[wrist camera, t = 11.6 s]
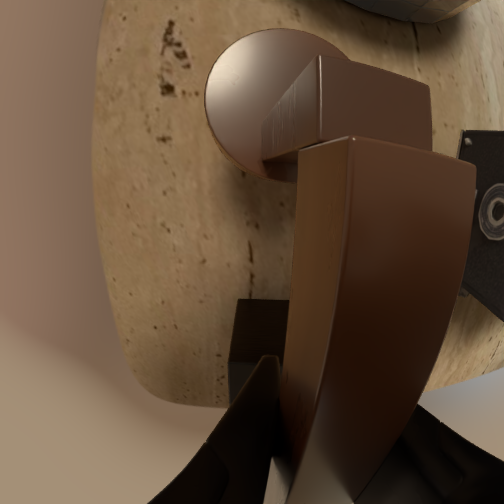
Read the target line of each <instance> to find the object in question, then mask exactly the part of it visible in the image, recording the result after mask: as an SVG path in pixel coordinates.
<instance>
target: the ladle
mask: <svg viewBox="0 0 504 504" xmlns="http://www.w3.org/2000/svg"><path fill="white" fill-rule="evenodd" d="M204 106H205V112H206V117H207V121H208V124H209V127H210V130H211V133H212V136H213V138H214V140H215V142H216V144H217V146H218V147H219V149H220V150H221V152H222V153H223V154H224V155H225V156H226V158H227V159H228V160H229V161H231V162H232V163H233V164H234V165H235V166H237V167H238V168H239V169H241V170H242V171H244V172H246V173H248V174H250V175H252V176H255V177H258V178H261V179H265V180H269V181H277V182H285V183H297V201H296V219H295V236H294V251H293V265H292V278H291V290H290V301H289V312H288V323H287V333H286V343H285V352H284V361H283V370H282V378H281V386H280V394H279V400H280V408H279V415H278V422H277V428H276V435H275V441H274V447H273V454H272V460H271V465H270V471H269V477H268V482H267V488H266V493H265V498H264V503H263V504H352V503H353V502H354V501H355V499H356V498H357V497H358V496H359V494H360V493H361V492H362V491H363V489H364V488H365V487H366V485H367V484H368V483H369V481H370V480H371V479H372V477H373V476H374V474H375V473H376V472H377V470H378V469H379V467H380V466H381V464H382V463H383V461H384V460H385V458H386V457H387V455H388V454H389V452H390V450H391V449H392V447H393V446H394V444H395V442H396V441H397V439H398V438H399V436H400V434H401V433H402V431H403V429H404V428H405V426H406V424H407V422H408V420H409V418H410V417H411V415H412V413H413V411H414V409H415V407H416V405H417V403H418V401H419V399H420V397H421V395H422V393H423V391H424V389H425V386H426V384H427V382H428V380H429V377H430V375H431V373H432V371H433V368H434V366H435V363H436V361H437V358H438V356H439V353H440V350H441V348H442V345H443V342H444V340H445V337H446V334H447V331H448V328H449V325H450V322H451V319H452V315H453V312H454V309H455V305H456V302H457V298H458V294H459V290H460V286H461V282H462V278H463V274H464V269H465V264H466V259H467V254H468V249H469V243H470V236H471V230H472V222H473V214H474V204H475V192H476V174H477V169H476V166H475V165H474V164H472V163H469V162H465V161H462V160H459V159H456V158H453V157H449V156H446V155H443V154H439V153H436V152H432V113H431V98H430V88H429V86H428V85H426V84H424V83H421V82H418V81H416V80H413V79H410V78H407V77H405V76H402V75H399V74H396V73H393V72H390V71H386V70H383V69H380V68H376V67H373V66H369V65H366V64H362V63H358V62H354V61H350V60H349V59H348V57H347V56H345V55H344V54H343V53H342V52H341V51H340V50H339V49H338V48H336V47H335V46H334V45H332V44H331V43H329V42H327V41H326V40H324V39H322V38H320V37H318V36H315V35H313V34H310V33H307V32H304V31H299V30H294V29H284V28H280V29H267V30H262V31H258V32H255V33H251V34H249V35H247V36H245V37H242V38H241V39H239V40H237V41H236V42H234V43H233V44H231V45H230V46H229V47H228V48H227V49H225V50H224V51H223V53H222V54H221V55H220V56H219V57H218V58H217V60H216V61H215V63H214V64H213V66H212V68H211V70H210V72H209V75H208V78H207V81H206V85H205V93H204Z"/></svg>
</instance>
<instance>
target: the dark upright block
mask: <svg viewBox="0 0 504 504" xmlns="http://www.w3.org/2000/svg"><path fill="white" fill-rule="evenodd" d="M289 301H290V300H262V299H238V301H237V307H236V313H235V320H234V326H233V332H232V338H231V345H230V351H229V357H228V387H229V407H230V405H231V404H232V402H233V401H234V399H235V398H236V396H237V395H238V393H239V392H240V390H241V389H242V387H243V386H244V384H245V383H246V381H247V380H248V378H249V376H250V375H251V373H252V372H253V370H254V369H255V367H256V366H257V364H258V362H259V361H260V359H261V358H262V356H264V355H276V356H278V357H279V364H280V373H281V378H282V370H283V361H284V352H285V343H286V333H287V323H288V312H289Z"/></svg>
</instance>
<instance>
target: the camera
mask: <svg viewBox="0 0 504 504" xmlns="http://www.w3.org/2000/svg"><path fill="white" fill-rule="evenodd" d="M456 159H459V160H462V161H465V162H469V163H472V164H474V165H475V166H476V169H477V174H476V192H475V204H474V214H473V222H472V230H471V236H470V243H469V249H468V254H467V259H466V264H465V269H464V274H463V278H462V282H461V286H460V290H459V294H458V296H461V297H464V298H465V297H467V296H468V294H469V293H470V294H471V295H472V296H474V297H475V298H476V299H477V300H478V301H480V302H481V303H482V304H483V305H484V306H486V307H487V308H488V309H489V310H490V311H491V312H492V313H493V314H495V315H496V316H497V317H498V318H499V319H500V320H502V321H503V322H504V131H488V130H466V131H464V130H462V131H461V134H460V139H459V145H458V151H457V156H456Z"/></svg>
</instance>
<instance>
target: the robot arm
mask: <svg viewBox="0 0 504 504" xmlns="http://www.w3.org/2000/svg"><path fill="white" fill-rule="evenodd" d="M280 386H281V373H280V364H279V357H278V356H276V355H264V356H262V358H261V359H260V361H259V362H258V364H257V366H256V367H255V369H254V370H253V372H252V373H251V375H250V376H249V378H248V380H247V381H246V383H245V384H244V386H243V387H242V389H241V390H240V392H239V393H238V395H237V396H236V398H235V399H234V401H233V402H232V404H231V405H230V407H229V408H228V410H227V412H226V413H225V414H224V416H223V417H222V418H221V420H220V421H219V423H218V424H217V426H216V427H215V429H214V430H213V431H212V433H211V434H210V436H209V437H208V438H207V440H206V442H205V443H204V444H203V445H202V446H201V448H200V449H199V451H198V452H197V453H196V455H195V456H194V457H193V458H192V459H191V461H190V462H189V463H188V464H187V466H186V467H185V468H184V469H183V470H182V471H181V472H180V473H179V474H178V475H177V477H175V479H173V480H172V482H170V484H168V485H167V486H166V487H165V488H164V489H163V490H162V491H161V492H160V493H159V494H157V495H156V496H155V497H154V498H153V499H152V500H151V501H150V502H149V503H147V504H263V503H264V498H265V493H266V488H267V482H268V477H269V471H270V465H271V460H272V454H273V447H274V441H275V435H276V428H277V422H278V415H279V408H280V400H279V394H280ZM353 503H354V504H504V461H502V460H501V459H499V458H497V457H495V456H493V455H492V454H490V453H488V452H486V451H484V450H482V449H481V448H479V447H478V446H476V445H474V444H473V443H471V442H469V441H468V440H466V439H465V438H463V437H462V436H460V435H459V434H458V433H456V432H455V431H453V430H452V429H451V428H449V427H448V426H447V425H445V424H444V423H442V422H440V420H438V419H437V418H436V417H435V416H433V415H432V414H431V413H429V412H428V411H427V410H425V409H424V408H423V407H421V406H420V405H418V403H417V405H416V407H415V409H414V411H413V413H412V415H411V417H410V418H409V420H408V422H407V424H406V426H405V428H404V429H403V431H402V433H401V434H400V436H399V438H398V439H397V441H396V442H395V444H394V446H393V447H392V449H391V450H390V452H389V454H388V455H387V457H386V458H385V460H384V461H383V463H382V464H381V466H380V467H379V469H378V470H377V472H376V473H375V474H374V476H373V477H372V479H371V480H370V481H369V483H368V484H367V485H366V487H365V488H364V489H363V491H362V492H361V493H360V494H359V496H358V497H357V498H356V499H355V501H354V502H353Z"/></svg>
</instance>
